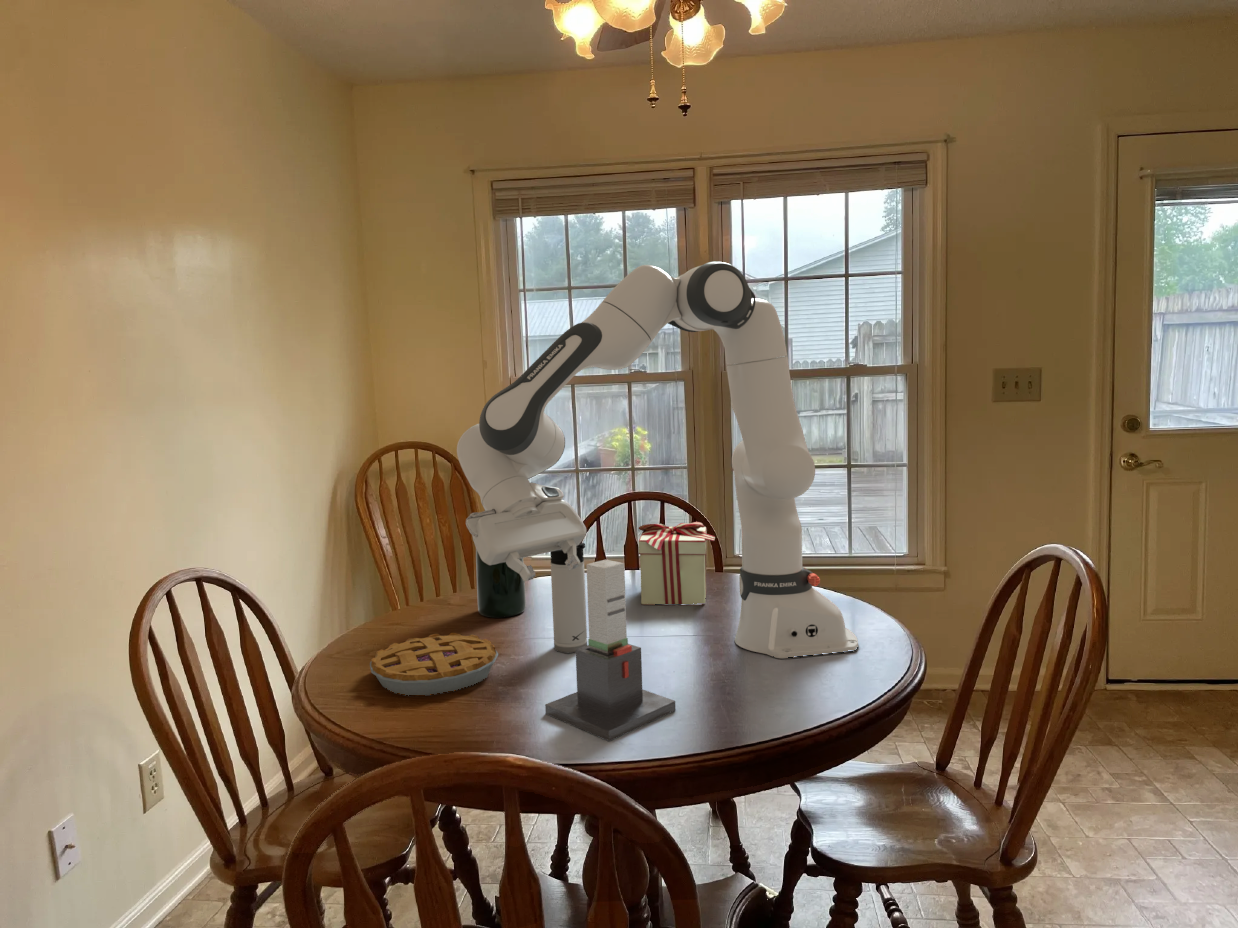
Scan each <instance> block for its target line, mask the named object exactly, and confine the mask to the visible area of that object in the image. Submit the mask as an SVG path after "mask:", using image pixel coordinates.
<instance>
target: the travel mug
mask: <svg viewBox="0 0 1238 928" xmlns="http://www.w3.org/2000/svg"><path fill="white" fill-rule="evenodd" d="M585 548H586V544H585V543H584V542H581V543H580V544H579V545H578V546H576V555H577V557H578V559H579V560H580V565H579V567H578V568H576V569H572V570H569V568H568V566H567V565H566V564H565V562H566V560H567V559H568V554H567V553H564V552H563V550H562V549H561V550H556V551H552V552H550V577H551V579H550V580H551V601H552V604H551V605H552V625H553V626H552V627H553V628H552V629H553V646H554V647H553V648H554V649H555V651H557V652H559V653H562V654H563V653H565V654H570V653H571V654H573V653H575V654H576V649H578V648H581V647H584V646H587V645H588V639H587V638H588V631H587V630H588V629H587V628H588V625H587V608H586V607H587V604H586V603H587V602H586V601H587V600H586V580H585V577H586V576H585V575H586V573H585V559H584V549H585Z"/></svg>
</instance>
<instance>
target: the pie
mask: <svg viewBox="0 0 1238 928" xmlns="http://www.w3.org/2000/svg"><path fill="white" fill-rule="evenodd" d="M498 656H499V653H498V651H497V650H496V646H495V644H492V641H491V640H489V639H488V638H483V639H480V637H479V636H478V635H475V634H470V635H461V633H458V632H457V633H456V632H450V633H449V634H448V635H440V634H439V633H433V634H430V635H428V636H427V637H422V638H420V637H410V638H407V639H406V640H405V642H400V643H397V642H393V643H392V644H390V645H388V647H387V648H386V649H382V648H381V649H379V650H377V651H376V652H375V654H374V657H373V658H371V661H370V662H369V668H370V673H371V674H373V675H374V676H376V678H377V680H378V681H379V683H380V685H381V686H382V687H383V688H384V689H386V688H387V689H386V690H388V691H389V690H390V691H389V692H391V691H392V692H394V693H393V694H397V693H400V694H399V695H401V694H405V695H404V696H406V695H408V696H407V697H410V696H409V695H425V696H431V695H430V694H434V695H438V694H437V693H440V694H444V693H443V692H447V693H449V692H448V691H453V692H455V691H454V690H456V691H459V690H462V689H461V688H463V689H465V688H464V687H466V688H468V686H469V687H472V686H474V684H475V685H476V683H477V684H479V683H480V682H483V681H484V680H485V678H486V679H487V678H488V676H489V674H490V671H491V669H492V667H493V665H494V663H495V662H496V660H497V658H498ZM483 679H484V680H483ZM478 682H479V683H478ZM471 685H472V686H471ZM458 689H459V690H458ZM392 692H391V693H392Z"/></svg>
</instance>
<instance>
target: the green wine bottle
mask: <svg viewBox="0 0 1238 928" xmlns="http://www.w3.org/2000/svg"><path fill="white" fill-rule="evenodd" d="M519 560H520V561H522V562H523V563H524V558H521V559H519ZM475 564H476V569H475V570H476V571H475V572H476V590H477V591H476V592H477V594H476V595H477V596H476V597H477V610H478V613H479V614H480V615H481V616H483V617H487V618H494V619H495V618H498V619H500V618H508V617H515V616H517V615H520V614H522V613H523V612H524V611H526V608H527V599H526V597H527V594H526V583H525V582H526V581H523V579H522V577H521V576H520V574H519V573H517V572H516V571H514V570H513V569H511V568H510V567H508V565H507V564H506V562H503V563H498V564H494V565H488V564H486V563H485V562H483V561H482V559H481V558H480V556H479V553H478V551H477V549H476V548H475Z"/></svg>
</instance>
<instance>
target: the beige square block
mask: <svg viewBox="0 0 1238 928" xmlns="http://www.w3.org/2000/svg"><path fill="white" fill-rule="evenodd" d="M585 567H586V587H587V590H586V591H587V614H588V615H587V617H588V618H587V620H588V639H587V645H589V646H590V651H592V652H595V653H598V654H601V655H604V656H607V657H608V656H611V655H614V653H613V650H615V649H617V648H620V647H623V646H626V645H628V644H629V640H628V639H629V638H628V635H627V610H626V609H627V607H626V604H627V603H626V577H625V576H626V575H625V574H626V573H625V562H620V561H615V560H611V559H603V560H597V561H595V562H594V561H593V562H590V563H586V565H585Z"/></svg>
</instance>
